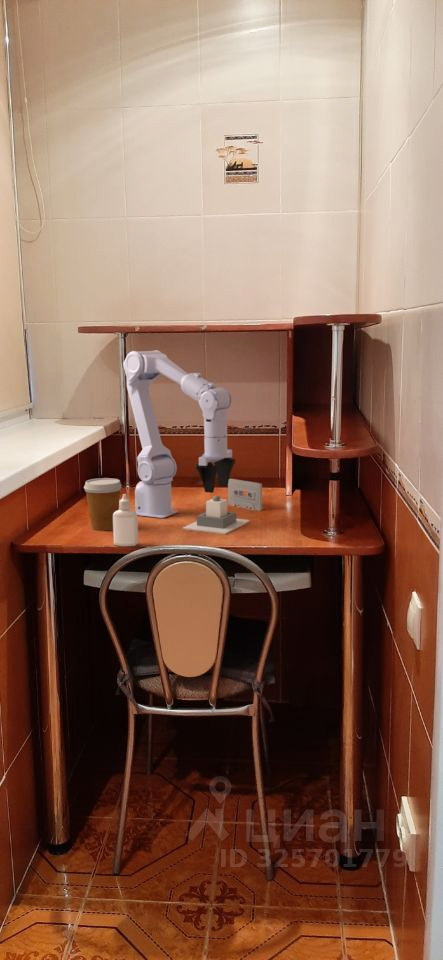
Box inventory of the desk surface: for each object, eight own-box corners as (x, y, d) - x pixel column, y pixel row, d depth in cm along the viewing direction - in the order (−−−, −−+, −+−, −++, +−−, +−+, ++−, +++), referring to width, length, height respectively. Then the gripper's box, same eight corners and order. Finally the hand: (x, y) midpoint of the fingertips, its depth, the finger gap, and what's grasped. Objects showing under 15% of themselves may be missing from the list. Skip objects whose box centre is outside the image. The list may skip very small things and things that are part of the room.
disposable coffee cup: (106, 534, 190) (104, 486, 188) (77, 529, 195) (75, 482, 193) (131, 525, 198) (129, 480, 196) (102, 521, 203) (101, 476, 201)
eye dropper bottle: (127, 548, 177) (125, 497, 175) (111, 544, 181) (109, 494, 179) (141, 544, 181) (139, 494, 178) (124, 540, 184) (123, 491, 182)
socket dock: (182, 529, 194) (182, 517, 194) (208, 517, 207) (208, 506, 206) (225, 534, 189) (225, 522, 188) (249, 521, 201) (249, 510, 201)
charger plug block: (206, 524, 197) (205, 497, 195) (213, 520, 200) (213, 494, 199) (220, 526, 195) (219, 498, 194) (227, 522, 198) (227, 495, 197)
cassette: (263, 510, 214) (263, 483, 212) (259, 511, 212) (259, 484, 211) (231, 504, 222) (231, 478, 220) (226, 505, 220) (226, 479, 219)
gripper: (216, 441, 185) (217, 496, 188) (242, 433, 198) (242, 485, 201) (190, 439, 188) (191, 493, 191) (218, 432, 201) (218, 483, 204)
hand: (216, 489), depth 196 cm, fingers open, 7 cm apart
